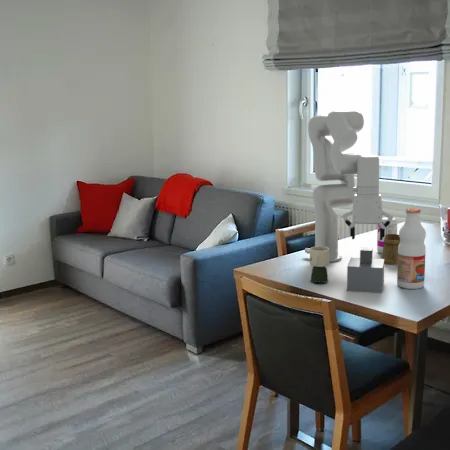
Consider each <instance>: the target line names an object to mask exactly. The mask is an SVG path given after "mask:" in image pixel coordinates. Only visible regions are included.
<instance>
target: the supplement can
mask: <svg viewBox="0 0 450 450" xmlns="http://www.w3.org/2000/svg"><path fill="white" fill-rule="evenodd" d="M387 220H388V218H387V217H385V216H382V222H383V223H385V222H386V221H387ZM380 228H381V227H380V225H379V224H377V235H376V239H377V240H376V241H377V242H376V243H377V244H376V250H377V252H378V253H379V254H382V253H383V247H384V238H385V236H384V237H383V238H382V240H380ZM386 234H398V221H397V218H396V217H393V219H392V220H391V222H390V224H389V225H388V226H387V227H386V228H385V235H386Z"/></svg>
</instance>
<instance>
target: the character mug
mask: <svg viewBox="0 0 450 450" xmlns="http://www.w3.org/2000/svg"><path fill="white" fill-rule="evenodd" d="M309 265H311V266H312V269H311V276H310V281H311V283H317V284H319V283H328V281H329V278H328V277H329V275H328V270H327V269H328V268H327V267H328V266H329V265H330V262H329V248H328V247H324V246H315V245H314V246H311V247H310V254H309Z"/></svg>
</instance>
